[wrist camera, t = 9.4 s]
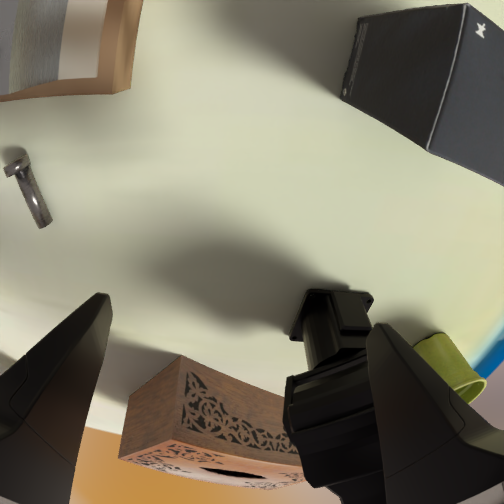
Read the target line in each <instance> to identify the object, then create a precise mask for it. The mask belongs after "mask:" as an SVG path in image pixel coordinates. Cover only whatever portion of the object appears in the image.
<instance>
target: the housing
mask: <svg viewBox="0 0 504 504" xmlns="http://www.w3.org/2000/svg"><path fill="white" fill-rule="evenodd" d="M67 5H68V0H0V95H6V94H11V93H14V92H17V91H20V90H23V89H27V88H30V87H34V86H37V85H41V84H45V83H48V82H52V81H56V80H58V73H59V61H60V51H61V43H62V35H63V28H64V22H65V16H66V10H67Z"/></svg>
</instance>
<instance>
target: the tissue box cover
mask: <svg viewBox="0 0 504 504" xmlns="http://www.w3.org/2000/svg"><path fill="white" fill-rule="evenodd" d="M283 408H284V397H282V396H279V395H276V394H274V393H271V392H268V391H266V390H263V389H260V388H258V387H255V386H252V385H250V384H247V383H245V382H242V381H240V380H237V379H235V378H233V377H230V376H228V375H225V374H223V373H221V372H218V371H216V370H214V369H212V368H209V367H207V366H205V365H203V364H200V363H198V362H196V361H194V360H192V359H189V358H187V357H185V356H183V355H181V356H180V357H179V358H177V359H176V360H175V361H174V362H172V363H171V364H170V365H169V366H167V367H166V368H165V369H164V370H162V371H161V372H160V373H159V374H157V375H156V376H155V377H154V378H152V379H151V380H150V381H149V382H147V383H146V384H145V385H143V386H142V387H141V388H140V389H138V390H137V391H136V392H134V393H133V394H132V395H131V396H130V397H129V402H128V407H127V412H126V417H125V422H124V427H123V432H122V438H121V444H120V449H119V455H118V459H121V460H124V461H127V462H130V463H133V464H136V465H140V466H143V467H146V468H150V469H154V470H157V471H161V472H165V473H169V474H173V475H177V476H181V477H186V478H190V479H195V480H200V481H206V482H211V483H217V484H224V485H230V486H237V487H245V488H254V489H264V490H271V489H276V488H280V487H285V486H289V485H292V484H296V483H300V482H304V481H307V480H306V479H305V477H304V473H303V469H302V464H301V460H300V456H299V453H298V450H297V448H296V447H295V446H293V444H292V443H291V441H290V440H289V438H288V435H287V433H286V432H284V429H283V422H282V418H283Z"/></svg>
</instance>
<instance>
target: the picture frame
mask: <svg viewBox="0 0 504 504" xmlns="http://www.w3.org/2000/svg"><path fill="white" fill-rule="evenodd" d="M142 4H143V0H68V5H67V10H66V16H65V22H64V28H63V35H62V43H61V51H60V61H59V73H58V80H56V81H52V82H48V83H45V84H41V85H37V86H34V87H30V88H27V89H23V90H20V91H17V92H14V93H11V94H6V95H0V102H4V101H12V100H19V99H28V98H38V97H50V96H65V95H93V94H115V93H118V92H121V91H124V90H127V89H130V87H131V77H132V68H133V60H134V52H135V45H136V38H137V32H138V26H139V20H140V15H141V9H142Z"/></svg>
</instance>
